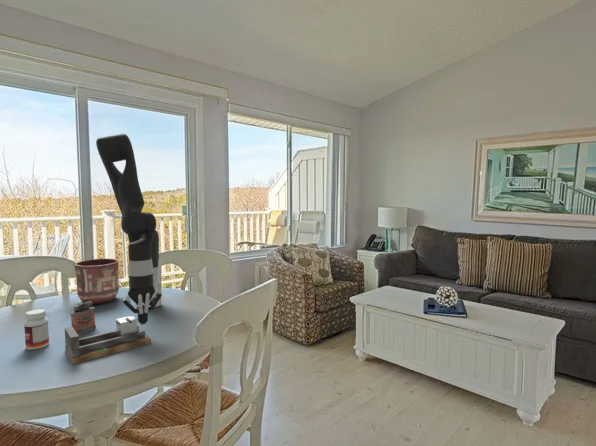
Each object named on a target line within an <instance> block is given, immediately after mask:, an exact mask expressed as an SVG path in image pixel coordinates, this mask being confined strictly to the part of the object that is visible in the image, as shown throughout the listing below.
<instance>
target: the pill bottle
mask: <svg viewBox="0 0 596 446" xmlns="http://www.w3.org/2000/svg"><path fill="white" fill-rule="evenodd" d="M46 315H47V312H46V309H42V308H41V309H33V310H28V311H26V313H25V322H24V326H23V327H24V339H25V348H26V349H27V350H39V349H43V348H46V347H47V346H48V345H49V344H50V333H49V319H48V318H47V317H46Z"/></svg>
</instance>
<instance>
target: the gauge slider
mask: <svg viewBox="0 0 596 446" xmlns="http://www.w3.org/2000/svg"><path fill="white" fill-rule="evenodd" d="M115 324H116V326H115V327H116V329H115V330H117V337H121V336H125V335H129V334H133V333H137V332H138V331H137V325H138V318H136V317H134V316H133V315H128V316H124V317H120V318H116V319H115Z"/></svg>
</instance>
